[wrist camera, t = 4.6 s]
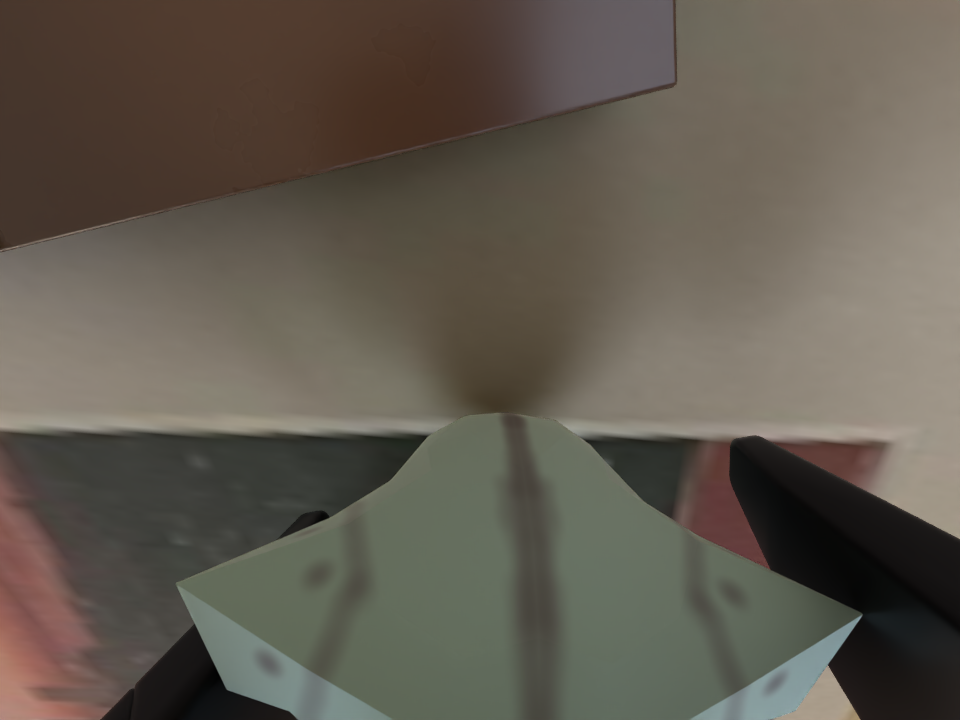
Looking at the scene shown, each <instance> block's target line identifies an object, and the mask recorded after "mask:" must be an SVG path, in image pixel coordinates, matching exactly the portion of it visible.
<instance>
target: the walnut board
mask: <svg viewBox="0 0 960 720" xmlns="http://www.w3.org/2000/svg"><path fill="white" fill-rule="evenodd" d="M676 84H677V47H676V3H675V0H0V252H4V251H8V250H12V249H16V248H20V247H24V246H28V245H32V244H36V243H40V242H44V241H48V240H53V239H57V238H61V237H65V236H69V235H73V234H77V233H81V232H85V231H89V230H93V229H97V228H101V227H106V226H110V225H114V224H118V223H122V222H126V221H130V220H134V219H138V218H142V217H146V216H150V215H154V214H159V213H163V212H167V211H171V210H175V209H179V208H183V207H187V206H191V205H195V204H199V203H203V202H207V201H212V200H216V199H220V198H224V197H228V196H232V195H236V194H240V193H244V192H248V191H252V190H256V189H260V188H265V187H269V186H273V185H277V184H281V183H285V182H289V181H293V180H297V179H301V178H305V177H309V176H313V175H318V174H322V173H326V172H330V171H334V170H338V169H342V168H346V167H350V166H354V165H358V164H362V163H366V162H371V161H375V160H379V159H383V158H387V157H391V156H395V155H399V154H403V153H407V152H411V151H415V150H419V149H424V148H428V147H432V146H436V145H440V144H444V143H448V142H452V141H456V140H460V139H464V138H468V137H472V136H477V135H481V134H485V133H489V132H493V131H497V130H501V129H505V128H509V127H513V126H517V125H521V124H525V123H530V122H534V121H538V120H542V119H546V118H550V117H554V116H558V115H562V114H566V113H570V112H574V111H578V110H583V109H587V108H591V107H595V106H599V105H603V104H607V103H611V102H615V101H619V100H623V99H627V98H631V97H636V96H640V95H644V94H648V93H652V92H656V91H660V90H664V89H668V88H672V87H674V86H675V85H676Z"/></svg>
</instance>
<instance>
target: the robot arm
mask: <svg viewBox="0 0 960 720" xmlns="http://www.w3.org/2000/svg"><path fill="white" fill-rule="evenodd" d="M729 476H730V481H731V485H732V487H733V490H734V492H735V494H736V496H737V498H738V501H739V503H740V505H741V507H742V509H743V511H744V514H745V516H746V518H747V520H748V522H749V524H750V527H751V529H752V531H753V533H754V535H755V537H756V540H757V542H758V544H759V546H760V548H761V550H762V553H763V555H764V557H765V559H766V561H767V563H768V565H769V567H770V569H771V570H772V571H774V572H776V573H778V574H780V575H782V576H784V577H786V578H789V579H791V580H793V581H795V582H797V583H799V584H801V585H803V586H805V587H808V588H810V589H812V590H814V591H816V592H818V593H820V594H822V595H824V596H827V597H829V598H831V599H833V600H835V601H837V602H839V603H841V604H843V605H846V606H848V607H850V608H852V609H854V610H856V611H858V612H860V613H862V614H863V615H862V617H861V618H860V620H859V621H858V623H857V624H856V625H855V627H854V628H853V630H852V631H851V632H850V634H849V635H848V637H847V638H846V640H845V641H844V642H843V644H842V645H841V647H840V648H839V649H838V651H837V652H836V654H835V655H834V657H833V658H832V659H831V661H830V662H829V664H828V666H829V668H830V669H831V671H832V673H833V674H834V676H835V678H836V679H837V681H838V683H839V684H840V686H841V688H842V689H843V691H844V693H845V694H846V696H847V698H848V699H849V701H850V703H851V704H852V706H853V708H854V709H855V711H856V713H857V714H858V716H859V718H860V719H861V720H960V539H959V538H957V537H955V536H953V535H951V534H949V533H947V532H945V531H943V530H941V529H939V528H937V527H935V526H933V525H931V524H929V523H927V522H925V521H924V520H922V519H920V518H918V517H916V516H914V515H912V514H910V513H908V512H906V511H904V510H902V509H900V508H898V507H896V506H894V505H892V504H890V503H888V502H887V501H885V500H883V499H881V498H879V497H877V496H875V495H873V494H871V493H869V492H867V491H865V490H863V489H861V488H859V487H857V486H855V485H853V484H852V483H850V482H848V481H846V480H844V479H842V478H840V477H838V476H836V475H834V474H832V473H830V472H828V471H826V470H824V469H822V468H820V467H818V466H816V465H815V464H813V463H811V462H809V461H807V460H805V459H803V458H801V457H799V456H797V455H795V454H793V453H791V452H789V451H787V450H785V449H783V448H781V447H780V446H778V445H776V444H774V443H772V442H770V441H768V440H766V439H764V438H762V437H760V436H747V437H742V438H736V439H734V440H733V441H732V442H731V445H730V470H729ZM328 518H330V517H329V516H328V514H327V513H326V512H325V511H315V512H310V513H305V514H303V515H301V516H300V517H299V518H298V519H297V520H296V521H295V522H294V523H293V524H292V525H291V526H290V527H289V528H288V529H287V530H286V531H285V532H284V533H283V534H282V535H281V536H280V537H279V538H278V539H277V540H279V539H281V538H283V537H286V536H288V535H291V534H293V533H295V532H298V531H300V530H302V529H305V528H307V527H309V526H312V525H314V524H316V523H319V522H321V521H323V520H326V519H328ZM101 720H298V719H297V718H296V717H295V716H294V715H293V714H292V713H291V712H290V711H287V710H284V709H281V708H278V707H275V706H272V705H270V704H267V703H264V702H261V701H258V700H255V699H252V698H249V697H246V696H243V695H240V694H238V693H235V692H232V691H229V690H227V689H226V687H225V685H224V683H223V681H222V679H221V677H220V675H219V673H218V671H217V669H216V666H215V664H214V662H213V660H212V658H211V656H210V654H209V652H208V650H207V648H206V646H205V644H204V642H203V640H202V637H201V635H200V633H199V631H198V629H197V627H196V625H195V624H194V625H193V626H192V627H191V628H190V629H189V630H188V631H187V632H186V633H185V634H184V635H183V636H182V637H181V638H180V639H179V640H178V641H177V642H176V643H175V644H174V646H173V647H172V648H171V649H170V650H169V651H168V652H167V653H166V654H165V655H164V656H163V657H162V658H161V659H160V660H159V661H158V662H157V663H156V664H155V665H154V666H153V667H152V668H151V669H150V670H149V671H148V672H147V673H146V674H145V675H144V676H143V677H142V678H141V679H140V680H139V681H138V682H137V683H136V685H135V689H130V690H129V691H128V692H127V693H126V694H125V695H124V696H123V697H122V698H121V699H120V700H119V702H118V703H117V704H116V705H115V706H114V707H113V708H112V709H111V710H110V711H109V712H108V713H107V714H106V715H105V716H104V717H103V718H102V719H101Z"/></svg>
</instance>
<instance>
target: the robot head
mask: <svg viewBox="0 0 960 720" xmlns="http://www.w3.org/2000/svg"><path fill="white" fill-rule="evenodd" d="M175 584H176V586H177V588H178V590H179V592H180V594H181V596H182V598H183V600H184V602H185V604H186V606H187V609H188V611H189V613H190V615H191V617H192V619H193V621H194V623H195V625H196V627H197V629H198V631H199V633H200V635H201V637H202V640H203V642H204V644H205V646H206V648H207V650H208V652H209V654H210V656H211V658H212V660H213V662H214V664H215V666H216V669H217V671H218V673H219V675H220V677H221V679H222V681H223V683H224V685H225V687H226V689H227V690H229V691H232V692H235V693H238V694H240V695H243V696H246V697H249V698H252V699H255V700H258V701H261V702H264V703H267V704H270V705H272V706H275V707H278V708H281V709H284V710H287V711H290V712H291V713H292V714H293V715H294V716H295V717H296V718H297V719H298V720H771V719H773V718H776V717H779V716H782V715H785V714H788V713H791V712H794V711H796V709H797V708H798V706H799V705H800V703H801V702H802V701H803V699H804V698H805V696H806V695H807V694H808V692H809V691H810V689H811V688H812V686H813V685H814V684H815V682H816V681H817V679H818V678H819V676H820V675H821V674H822V672H823V671H824V669H825V668H826V667H827V665H828V664H829V662H830V661H831V659H832V658H833V657H834V655H835V654H836V652H837V651H838V649H839V648H840V647H841V645H842V644H843V642H844V641H845V640H846V638H847V637H848V635H849V634H850V632H851V631H852V630H853V628H854V627H855V625H856V624H857V623H858V621H859V620H860V618H861V617H862V615H863V614H862V613H860V612H858V611H856V610H854V609H852V608H850V607H848V606H846V605H843V604H841V603H839V602H837V601H835V600H833V599H831V598H829V597H827V596H824V595H822V594H820V593H818V592H816V591H814V590H812V589H810V588H808V587H805V586H803V585H801V584H799V583H797V582H795V581H793V580H791V579H789V578H786V577H784V576H782V575H780V574H778V573H776V572H774V571H772V570H770V569H767V568H765V567H763V566H761V565H759V564H757V563H755V562H753V561H750V560H748V559H746V558H744V557H742V556H740V555H738V554H736V553H734V552H731V551H729V550H727V549H725V548H723V547H721V546H719V545H717V544H715V543H712V542H710V541H708V540H706V539H704V538H702V537H700V536H698V535H696V534H695V533H693V532H691V531H690V530H688V529H687V528H685V527H683V526H682V525H680V524H679V523H677V522H675V521H674V520H672V519H671V518H669V517H667V516H666V515H664V514H663V513H661V512H659V511H658V510H656V509H655V508H653V507H652V506H650V505H648V504H647V503H645V502H644V501H643V500H642V499H641V498H640V497H639V496H638V495H637V494H636V493H635V492H634V491H633V490H632V489H631V488H630V487H629V486H628V485H627V484H626V483H625V482H624V481H623V479H622V478H621V477H620V476H619V475H618V474H617V473H616V472H615V471H614V470H613V469H612V468H611V467H610V466H609V465H608V464H607V463H606V462H605V461H604V460H603V459H602V458H601V456H600V455H599V454H598V453H597V452H596V451H595V450H594V448H593V447H592V446H591V445H590V444H588V443H587V442H586V441H584V440H583V439H581V438H580V437H579V436H577V435H576V434H574V433H573V432H571V431H570V430H569V429H567V428H566V427H564V426H563V425H561V424H560V423H559V422H557V421H556V420H550V419H544V418H538V417H532V416H526V415H520V414H514V413H508V412H502V413H490V414H477V415H466V416H464V417H462V418H460V419H459V420H457V421H455V422H453V423H451V424H449V425H448V426H446V427H444V428H442V429H440V430H438V431H436V432H435V433H433V434H431V435H429V436H428V437H427V438H426V439H425V441H424V442H423V443H422V444H421V445H420V446H419V448H418V449H417V450H416V451H415V452H414V453H413V455H412V456H411V457H410V458H409V459H408V460H407V462H406V463H405V464H404V465H403V466H402V467H401V469H400V470H399V471H398V472H397V473H396V475H395V476H394V477H393V478H392V479H391V480H390V481H389V482H387V483H386V484H384V485H382V486H381V487H379V488H378V489H376V490H374V491H373V492H371V493H369V494H368V495H366V496H365V497H363V498H361V499H360V500H358V501H356V502H355V503H353V504H352V505H350V506H348V507H347V508H345V509H344V510H342V511H340V512H339V513H337V514H335V515H334V516H332V517H331V518H328V519H326V520H323V521H321V522H319V523H316V524H314V525H312V526H309V527H307V528H305V529H302V530H300V531H298V532H295V533H293V534H291V535H288V536H286V537H283V538H281V539H279V540H276V541H274V542H272V543H269V544H267V545H265V546H262V547H260V548H258V549H255V550H253V551H250V552H248V553H246V554H243V555H241V556H239V557H236V558H234V559H232V560H229V561H227V562H225V563H222V564H220V565H218V566H215V567H213V568H210V569H208V570H206V571H203V572H201V573H199V574H196V575H194V576H192V577H189V578H187V579H185V580H182V581H180V582H178V583H175Z"/></svg>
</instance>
